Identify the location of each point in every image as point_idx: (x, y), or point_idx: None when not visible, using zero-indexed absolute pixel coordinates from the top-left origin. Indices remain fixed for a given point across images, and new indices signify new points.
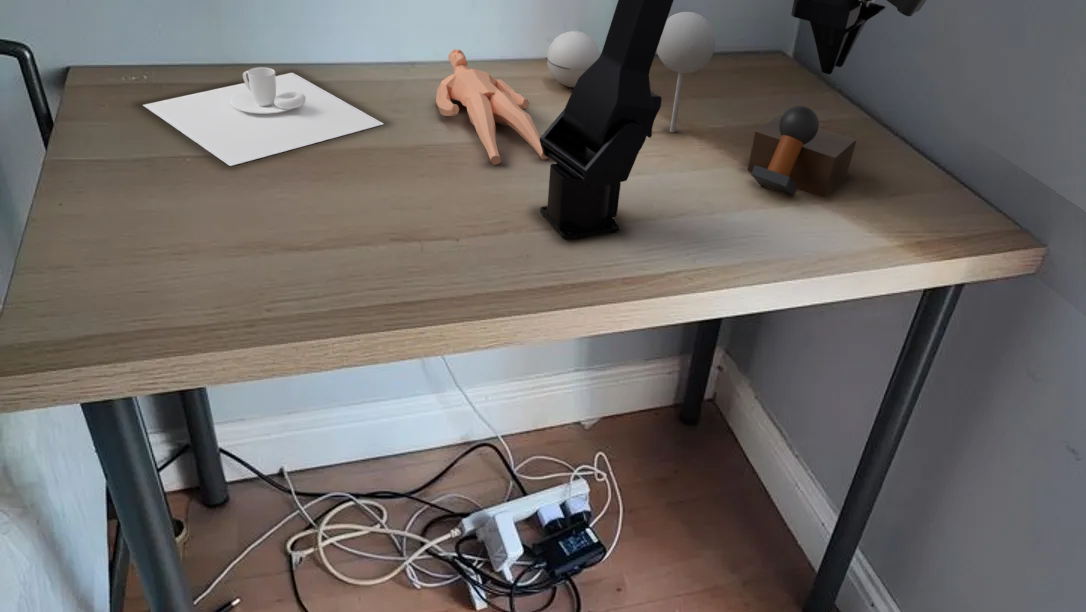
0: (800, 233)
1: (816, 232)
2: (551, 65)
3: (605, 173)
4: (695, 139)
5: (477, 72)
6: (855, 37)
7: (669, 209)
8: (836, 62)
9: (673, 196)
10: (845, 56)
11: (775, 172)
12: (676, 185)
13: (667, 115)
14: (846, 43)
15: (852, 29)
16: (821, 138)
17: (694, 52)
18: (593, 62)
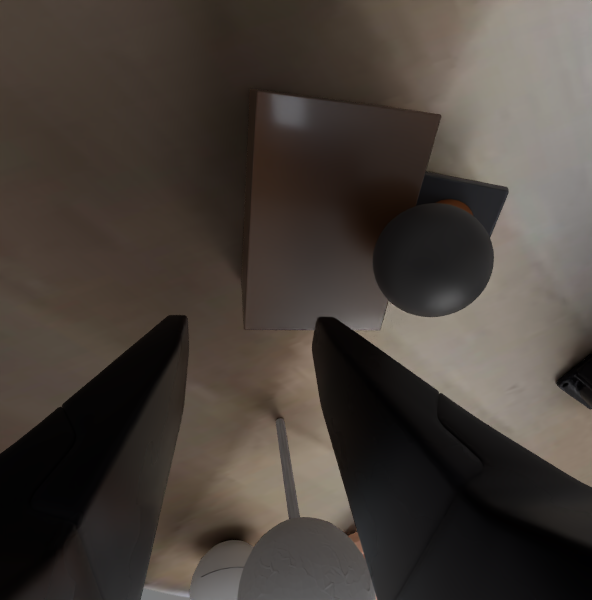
0: (573, 103)
1: (561, 71)
2: None
3: None
4: (283, 389)
5: (375, 594)
6: (125, 420)
7: (541, 314)
8: (338, 341)
9: (499, 327)
10: (180, 342)
11: (494, 226)
12: (462, 339)
13: (224, 449)
14: (162, 411)
15: (113, 505)
16: (326, 193)
17: (361, 569)
18: (237, 576)
